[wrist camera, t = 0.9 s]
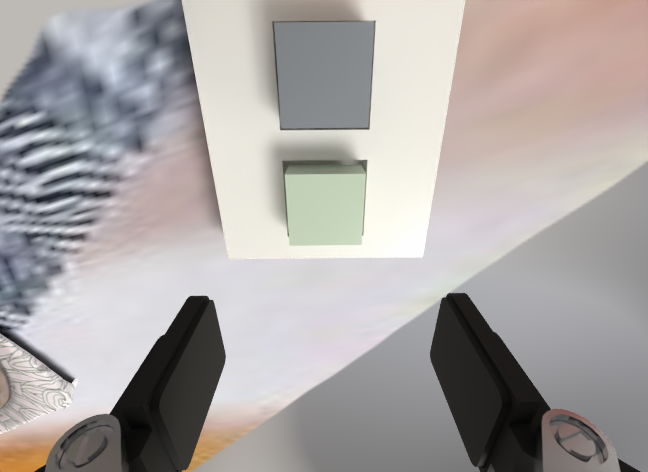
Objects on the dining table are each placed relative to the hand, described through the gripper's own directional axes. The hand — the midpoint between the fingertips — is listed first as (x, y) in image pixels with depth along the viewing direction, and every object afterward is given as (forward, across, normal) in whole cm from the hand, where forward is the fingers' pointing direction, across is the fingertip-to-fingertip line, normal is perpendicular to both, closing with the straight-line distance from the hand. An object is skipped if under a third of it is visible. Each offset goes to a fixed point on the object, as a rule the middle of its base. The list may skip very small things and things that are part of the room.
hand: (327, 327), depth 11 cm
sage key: (+13, 0, 0) cm, 13 cm away
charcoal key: (+13, 0, -8) cm, 15 cm away
